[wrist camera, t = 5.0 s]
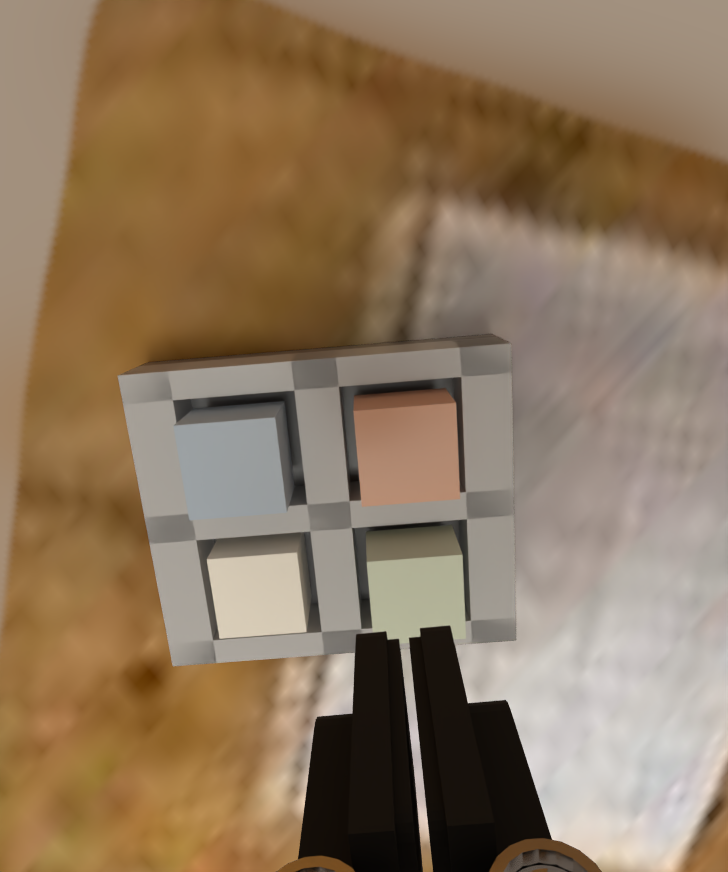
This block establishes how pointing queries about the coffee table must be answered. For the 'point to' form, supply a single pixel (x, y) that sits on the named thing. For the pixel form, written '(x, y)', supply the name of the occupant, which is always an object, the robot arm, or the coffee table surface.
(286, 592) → the key ivory
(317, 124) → the coffee table surface
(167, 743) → the coffee table surface
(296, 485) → the keypad
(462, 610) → the key sage
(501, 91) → the coffee table surface
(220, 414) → the key slate
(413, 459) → the key terracotta
